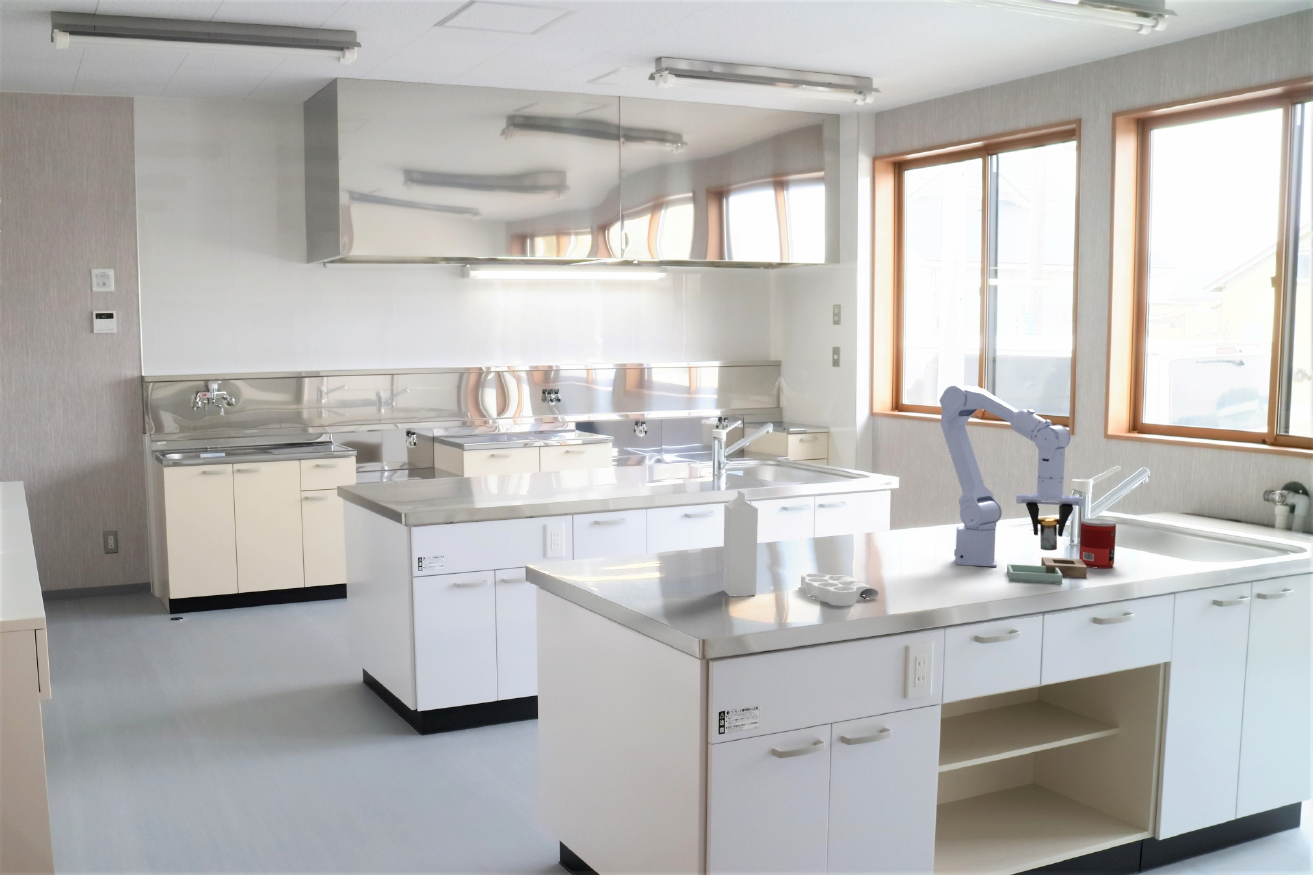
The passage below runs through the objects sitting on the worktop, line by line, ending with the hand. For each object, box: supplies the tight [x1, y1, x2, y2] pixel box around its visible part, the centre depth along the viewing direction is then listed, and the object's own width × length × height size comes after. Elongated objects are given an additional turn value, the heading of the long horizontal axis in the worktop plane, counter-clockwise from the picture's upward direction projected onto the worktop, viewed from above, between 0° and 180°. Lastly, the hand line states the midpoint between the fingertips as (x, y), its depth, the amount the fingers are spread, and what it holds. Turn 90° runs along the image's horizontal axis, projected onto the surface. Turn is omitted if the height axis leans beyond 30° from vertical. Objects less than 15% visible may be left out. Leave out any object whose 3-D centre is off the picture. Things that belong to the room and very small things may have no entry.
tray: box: [1006, 563, 1064, 585], centre depth 250 cm, size 11×9×2 cm
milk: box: [722, 489, 759, 596], centre depth 231 cm, size 6×6×22 cm
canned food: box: [1078, 518, 1117, 569], centre depth 265 cm, size 8×8×11 cm
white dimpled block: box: [797, 572, 880, 607], centre depth 232 cm, size 3×18×15 cm
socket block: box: [1040, 556, 1088, 579], centre depth 257 cm, size 9×9×2 cm
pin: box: [1038, 516, 1059, 551], centre depth 252 cm, size 5×5×7 cm
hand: (1047, 535), depth 252 cm, fingers closed on pin, 5 cm apart
